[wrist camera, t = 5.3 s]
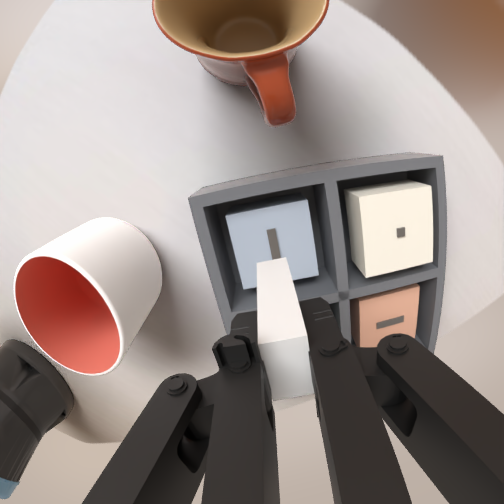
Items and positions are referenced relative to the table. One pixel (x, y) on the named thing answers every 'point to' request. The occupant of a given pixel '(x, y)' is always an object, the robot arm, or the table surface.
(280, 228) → the slate key
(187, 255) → the table surface
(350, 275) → the grey compartment tray
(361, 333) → the terracotta key
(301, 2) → the mug
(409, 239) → the cream key
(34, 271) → the cup
